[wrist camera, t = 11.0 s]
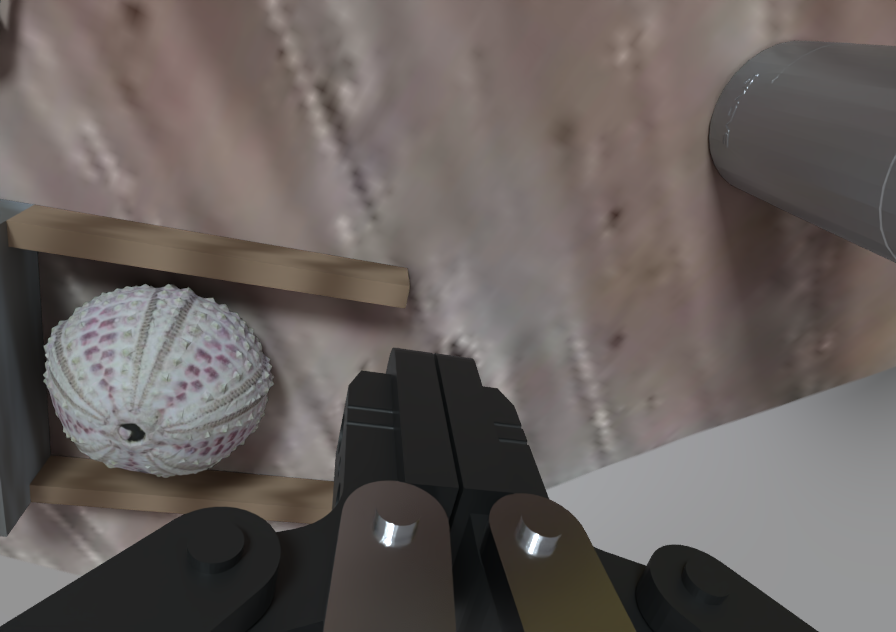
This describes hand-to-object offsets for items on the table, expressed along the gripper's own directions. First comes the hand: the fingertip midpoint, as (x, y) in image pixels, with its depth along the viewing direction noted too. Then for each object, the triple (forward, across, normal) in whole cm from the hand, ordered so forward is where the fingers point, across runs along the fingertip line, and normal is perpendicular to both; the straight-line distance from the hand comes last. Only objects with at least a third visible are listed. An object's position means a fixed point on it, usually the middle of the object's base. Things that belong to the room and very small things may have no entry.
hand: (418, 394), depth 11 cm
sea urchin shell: (+27, +11, +18) cm, 34 cm away
